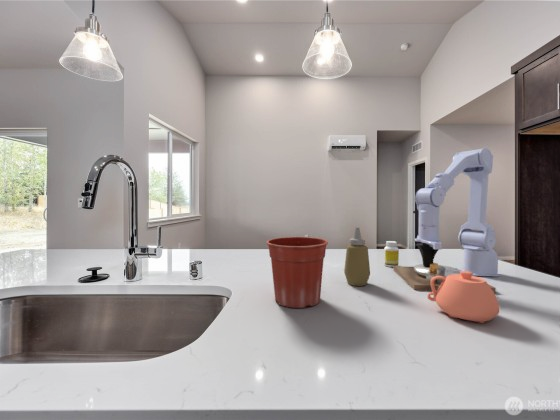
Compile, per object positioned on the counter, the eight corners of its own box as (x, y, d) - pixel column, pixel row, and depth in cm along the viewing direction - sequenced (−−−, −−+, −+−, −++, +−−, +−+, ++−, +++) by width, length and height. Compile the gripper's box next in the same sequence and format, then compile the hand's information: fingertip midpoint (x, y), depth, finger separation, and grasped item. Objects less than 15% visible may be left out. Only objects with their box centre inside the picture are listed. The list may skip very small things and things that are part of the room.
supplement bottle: (400, 267, 106) (401, 242, 105) (386, 267, 106) (387, 242, 105) (395, 264, 111) (395, 240, 111) (381, 264, 111) (382, 240, 111)
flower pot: (258, 294, 77) (258, 238, 76) (308, 286, 84) (308, 235, 83) (281, 317, 62) (281, 248, 61) (340, 305, 68) (340, 243, 68)
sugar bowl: (503, 332, 55) (505, 283, 54) (425, 316, 62) (426, 273, 62) (494, 311, 65) (495, 269, 65) (428, 299, 72) (429, 262, 72)
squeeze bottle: (371, 281, 88) (372, 226, 87) (368, 289, 81) (369, 229, 80) (346, 278, 92) (346, 226, 91) (341, 285, 84) (341, 228, 83)
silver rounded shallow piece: (420, 265, 99) (420, 254, 99) (466, 272, 90) (466, 259, 90) (405, 275, 87) (405, 262, 86) (456, 284, 77) (457, 270, 77)
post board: (456, 272, 99) (456, 257, 99) (495, 293, 77) (496, 274, 77) (393, 270, 102) (393, 255, 102) (414, 289, 80) (414, 271, 80)
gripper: (408, 223, 94) (407, 261, 94) (424, 228, 79) (423, 273, 80) (429, 223, 93) (428, 262, 93) (449, 228, 78) (448, 274, 79)
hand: (427, 267), depth 87 cm, fingers closed, pressing on silver rounded shallow piece
